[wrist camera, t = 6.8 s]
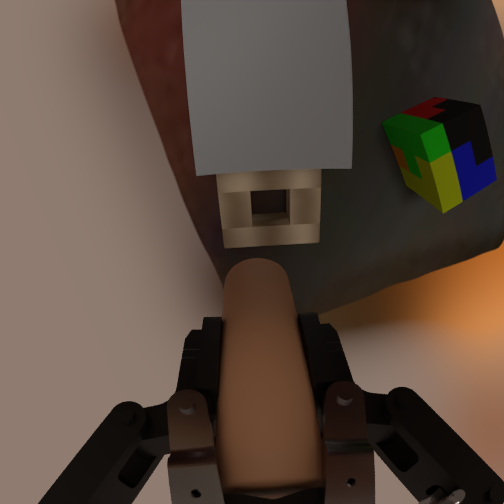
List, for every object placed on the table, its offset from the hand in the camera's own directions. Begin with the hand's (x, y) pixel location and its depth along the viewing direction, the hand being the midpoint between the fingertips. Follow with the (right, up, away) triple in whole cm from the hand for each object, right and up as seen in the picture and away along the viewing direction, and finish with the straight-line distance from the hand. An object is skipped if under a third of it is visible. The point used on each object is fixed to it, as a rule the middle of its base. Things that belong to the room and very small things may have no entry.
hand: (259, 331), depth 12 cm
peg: (0, +2, +3) cm, 3 cm away
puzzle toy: (+23, +19, +22) cm, 37 cm away
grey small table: (+1, +23, +19) cm, 30 cm away
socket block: (+2, +14, +24) cm, 28 cm away
